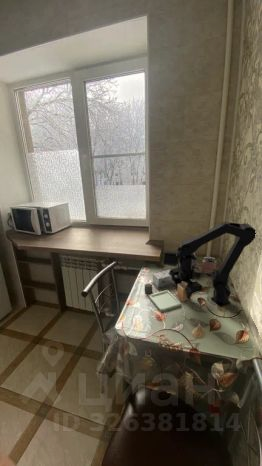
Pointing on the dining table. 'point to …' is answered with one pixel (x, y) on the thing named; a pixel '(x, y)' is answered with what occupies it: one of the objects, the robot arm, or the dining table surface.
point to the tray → (164, 300)
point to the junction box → (162, 279)
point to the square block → (182, 291)
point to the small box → (192, 261)
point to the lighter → (208, 265)
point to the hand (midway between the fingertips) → (183, 294)
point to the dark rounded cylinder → (148, 288)
